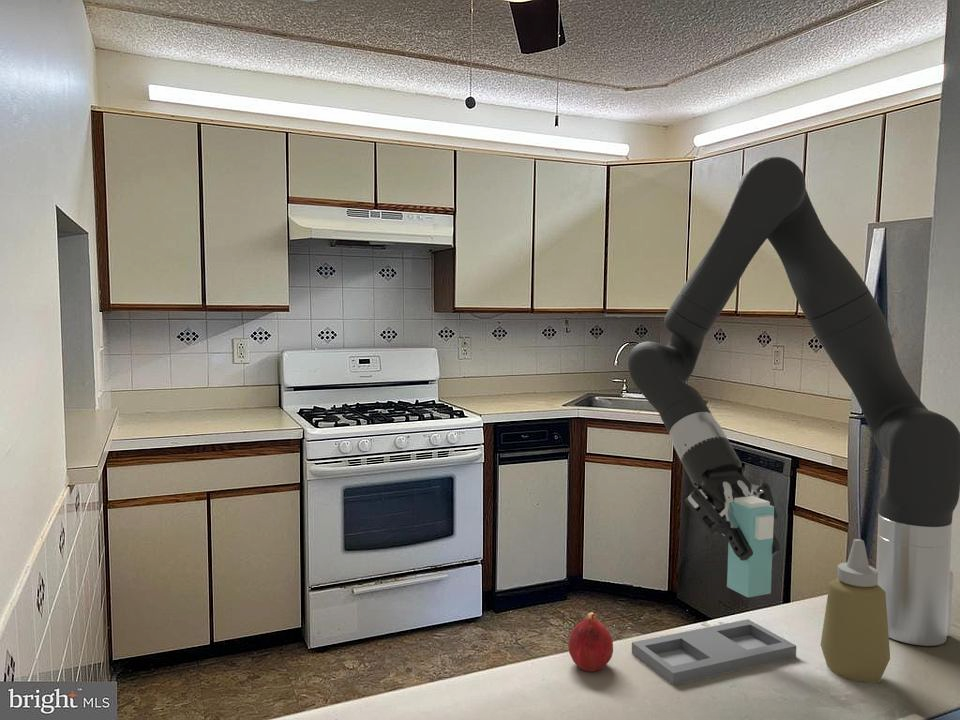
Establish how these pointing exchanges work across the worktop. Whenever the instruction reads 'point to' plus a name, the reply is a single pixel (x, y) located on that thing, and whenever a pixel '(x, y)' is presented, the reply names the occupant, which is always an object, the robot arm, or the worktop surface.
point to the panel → (712, 651)
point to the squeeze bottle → (856, 621)
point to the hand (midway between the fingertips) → (760, 555)
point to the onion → (590, 644)
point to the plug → (752, 547)
